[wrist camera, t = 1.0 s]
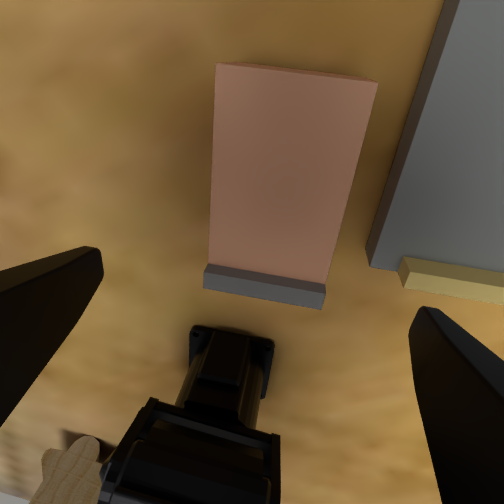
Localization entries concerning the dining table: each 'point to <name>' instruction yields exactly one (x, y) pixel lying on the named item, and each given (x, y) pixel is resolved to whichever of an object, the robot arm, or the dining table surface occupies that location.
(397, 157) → the dock
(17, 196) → the dining table surface
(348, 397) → the dining table surface
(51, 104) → the dining table surface
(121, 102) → the dining table surface
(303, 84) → the pink panel on base
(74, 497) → the toy train
